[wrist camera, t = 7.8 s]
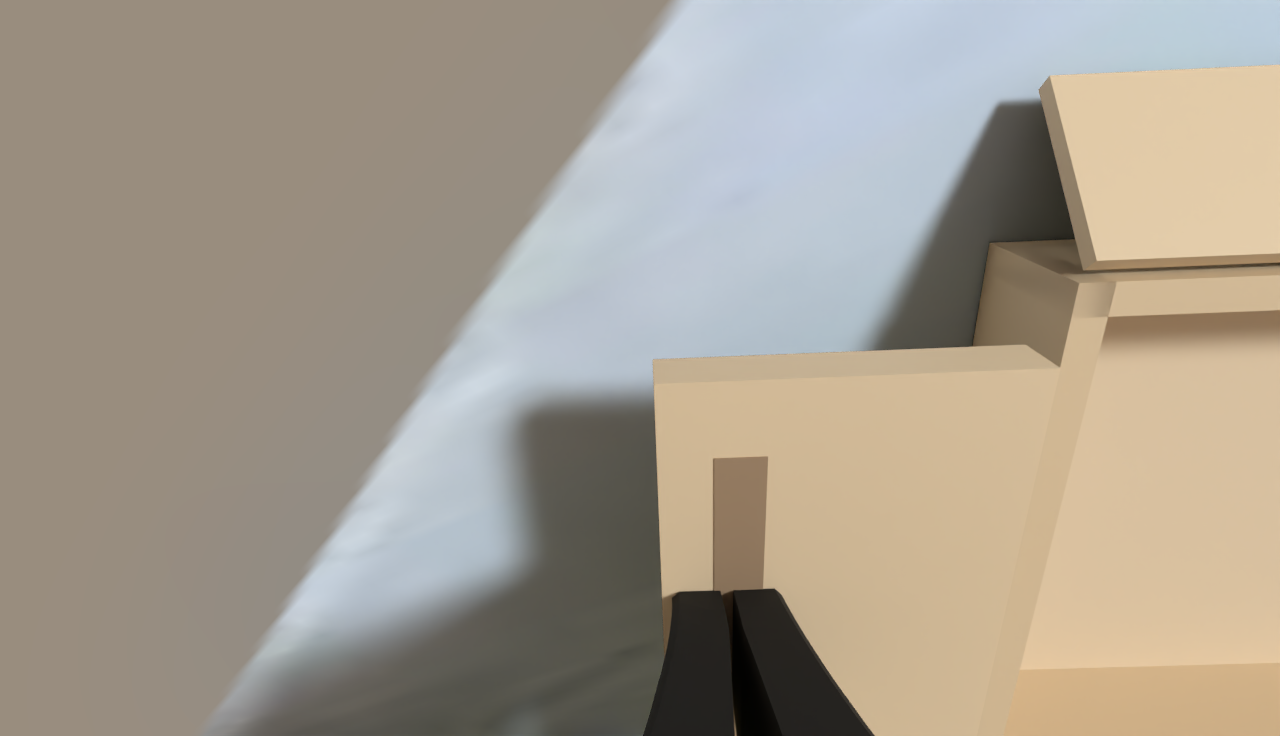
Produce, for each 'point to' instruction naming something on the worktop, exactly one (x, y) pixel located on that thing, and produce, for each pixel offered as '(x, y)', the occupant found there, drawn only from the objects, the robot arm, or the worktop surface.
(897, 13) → the worktop surface
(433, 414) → the worktop surface
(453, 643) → the worktop surface
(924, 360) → the flap
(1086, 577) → the carton
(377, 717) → the worktop surface
